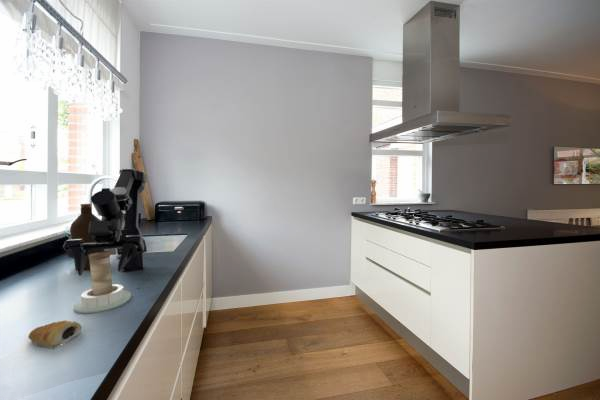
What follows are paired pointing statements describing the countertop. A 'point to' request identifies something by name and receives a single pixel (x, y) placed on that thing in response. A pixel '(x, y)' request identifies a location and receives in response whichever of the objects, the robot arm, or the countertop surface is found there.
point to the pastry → (55, 333)
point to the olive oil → (84, 230)
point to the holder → (102, 300)
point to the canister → (100, 273)
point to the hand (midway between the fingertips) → (99, 272)
